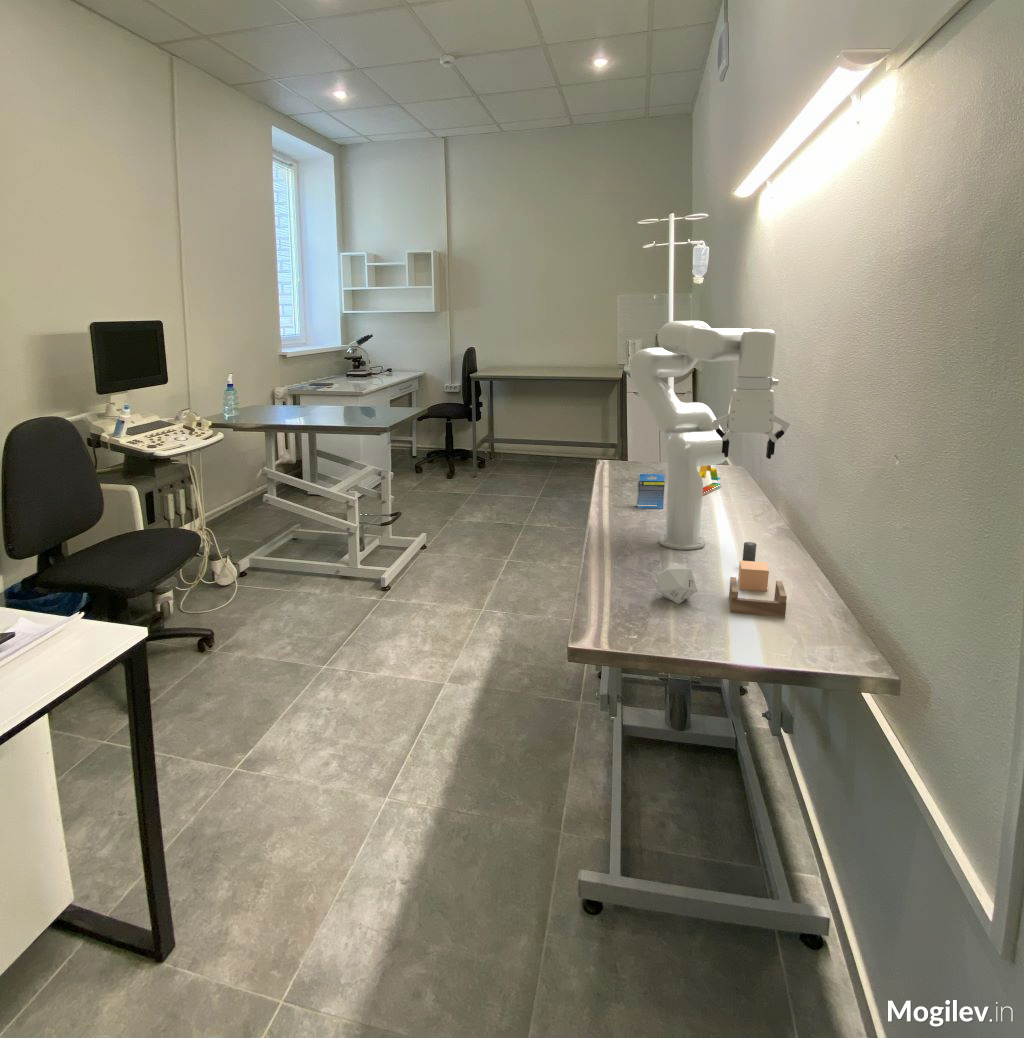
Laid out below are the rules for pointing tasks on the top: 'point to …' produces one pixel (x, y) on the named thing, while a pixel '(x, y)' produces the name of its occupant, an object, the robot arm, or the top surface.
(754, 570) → the block
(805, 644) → the top surface
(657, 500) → the label tape box
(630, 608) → the top surface
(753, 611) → the shelf lane
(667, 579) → the die
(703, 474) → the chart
